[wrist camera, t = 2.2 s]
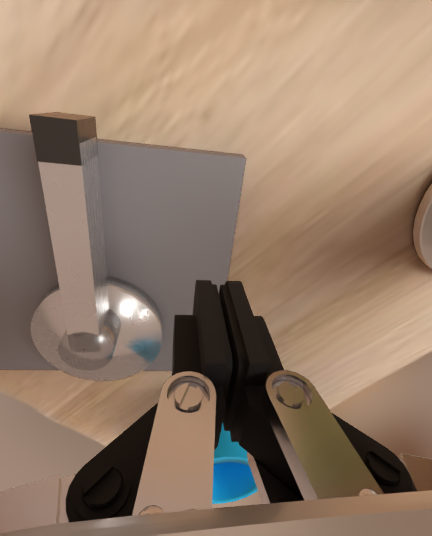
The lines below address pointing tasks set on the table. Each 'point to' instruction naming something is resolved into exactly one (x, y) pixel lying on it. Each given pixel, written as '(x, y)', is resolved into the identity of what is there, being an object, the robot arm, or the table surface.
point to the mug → (231, 471)
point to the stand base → (119, 232)
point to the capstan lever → (85, 265)
